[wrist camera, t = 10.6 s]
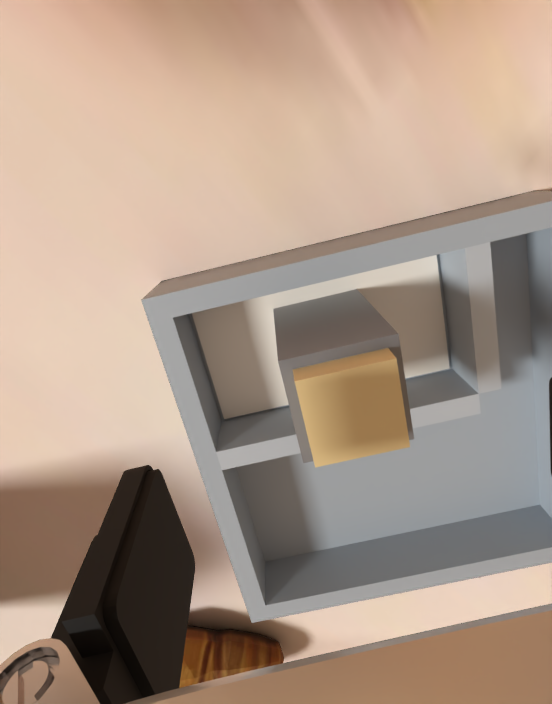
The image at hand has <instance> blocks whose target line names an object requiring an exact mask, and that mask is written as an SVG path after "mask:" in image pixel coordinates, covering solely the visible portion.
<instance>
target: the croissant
mask: <svg viewBox="0 0 552 704" xmlns="http://www.w3.org/2000/svg"><path fill="white" fill-rule="evenodd" d="M283 661H284V656H283V653H282V650H281V647H280V644H279V642H278V641H276V640H273V639H270V638H267V637H265V636H262V635H259V634H254V633H248V632H243V631H237V630H231V629H230V630H220V631H217V630H211V629H206V628H200V627H192V626H187V633H186V640H185V648H184V656H183V663H182V671H181V678H180V686H179V688H182V687H186V686H190V685H194V684H198V683H202V682H206V681H210V680H215V679H219V678H223V677H227V676H231V675H235V674H239V673H243V672H247V671H251V670H256V669H260V668H265V667H269V666H273V665H278V664H282V663H283Z"/></svg>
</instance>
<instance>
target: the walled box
mask: <svg viewBox="0 0 552 704" xmlns="http://www.w3.org/2000/svg"><path fill="white" fill-rule="evenodd" d="M355 289H357V290H358V291H359V292H360V293H361V294H362V295H363V296H364V297H365V298H366V300H367V301H368V302H369V303H370V304H371V305H372V306H373V307H374V308H375V309H376V310H377V311H378V312H379V313H380V314H381V316H382V317H383V318H384V319H385V320H386V321H387V322H388V323H389V324H390V325H391V326H392V327H393V328H394V329H395V330H396V332H397V333H398V334H399V340H400V347H401V354H402V360H403V367H404V374H405V380H406V387H407V394H408V400H409V407H410V413H411V420H412V427H413V433H414V439H413V440H409V442H410V447H408V448H403V449H399V450H394V451H390V452H385V453H380V454H376V455H371V456H366V457H362V458H357V459H353V460H348V461H343V462H339V463H334V464H329V465H325V466H320V467H316V468H315V465H314V461H312V462H307V463H303V460H302V456H301V452H300V448H299V444H298V440H297V436H296V432H295V428H294V424H293V420H292V416H291V412H290V408H289V404H288V400H287V396H286V392H285V387H284V383H283V379H282V375H281V371H280V367H279V363H278V356H277V345H276V334H275V323H274V313H273V309H274V308H278V307H283V306H287V305H291V304H295V303H300V302H304V301H308V300H312V299H317V298H321V297H325V296H329V295H334V294H338V293H342V292H346V291H351V290H355ZM141 301H142V304H143V306H144V309H145V312H146V315H147V318H148V321H149V324H150V327H151V330H152V333H153V336H154V339H155V342H156V344H157V347H158V350H159V353H160V356H161V359H162V362H163V365H164V368H165V371H166V374H167V377H168V380H169V383H170V385H171V388H172V391H173V394H174V397H175V400H176V403H177V406H178V409H179V412H180V415H181V418H182V421H183V423H184V426H185V429H186V432H187V435H188V438H189V441H190V444H191V447H192V450H193V453H194V456H195V459H196V462H197V464H198V467H199V470H200V473H201V476H202V479H203V482H204V485H205V488H206V491H207V494H208V497H209V500H210V502H211V505H212V508H213V511H214V514H215V517H216V520H217V523H218V526H219V529H220V532H221V535H222V538H223V541H224V543H225V546H226V549H227V552H228V555H229V558H230V561H231V564H232V567H233V570H234V573H235V576H236V579H237V581H238V584H239V587H240V590H241V593H242V596H243V599H244V602H245V605H246V608H247V611H248V614H249V617H250V620H251V622H252V623H254V622H259V621H264V620H269V619H274V618H279V617H284V616H289V615H294V614H299V613H304V612H309V611H314V610H319V609H324V608H329V607H334V606H339V605H343V604H348V603H353V602H358V601H363V600H368V599H373V598H378V597H383V596H388V595H393V594H398V593H403V592H408V591H413V590H418V589H423V588H428V587H433V586H438V585H443V584H448V583H453V582H458V581H462V580H467V579H472V578H477V577H482V576H487V575H492V574H497V573H502V572H507V571H512V570H517V569H522V568H527V567H532V566H537V565H542V564H547V563H552V475H551V466H550V410H549V381H550V378H551V377H552V191H531V192H527V193H523V194H519V195H515V196H510V197H506V198H502V199H498V200H494V201H490V202H486V203H482V204H477V205H473V206H469V207H465V208H461V209H457V210H453V211H449V212H444V213H440V214H436V215H432V216H428V217H424V218H420V219H416V220H411V221H407V222H403V223H399V224H395V225H391V226H387V227H383V228H378V229H374V230H370V231H366V232H362V233H358V234H354V235H350V236H346V237H341V238H337V239H333V240H329V241H325V242H321V243H317V244H313V245H308V246H304V247H300V248H296V249H292V250H288V251H284V252H280V253H275V254H271V255H267V256H263V257H259V258H255V259H251V260H247V261H242V262H238V263H234V264H230V265H226V266H222V267H218V268H214V269H209V270H205V271H201V272H197V273H193V274H189V275H185V276H181V277H176V278H172V279H168V280H164V281H161V282H160V283H159V284H158V285H157V286H156V287H155V288H154V289H153V290H151V291H150V292H149V293H148V294H147V295H146V296H145V297H144V298H143V299H142V300H141Z"/></svg>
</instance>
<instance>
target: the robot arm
mask: <svg viewBox="0 0 552 704" xmlns="http://www.w3.org/2000/svg"><path fill="white" fill-rule="evenodd" d="M549 410H550V466H551V475H552V377H551V378H550V381H549ZM194 573H195V561H194V555H193V552H192V550H191V547H190V544H189V542H188V539H187V537H186V534H185V532H184V529H183V527H182V524H181V521H180V519H179V516H178V514H177V511H176V509H175V506H174V503H173V501H172V498H171V496H170V493H169V491H168V488H167V486H166V483H165V480H164V478H163V475H162V473H161V471H160V470H159V469H156V470H153V469H152V467H151V466H149V465H147V466H143V467H138V468H134V469H130V470H126V471H125V472H124V473H123V475H122V478H121V480H120V482H119V485H118V487H117V490H116V492H115V494H114V497H113V499H112V502H111V504H110V506H109V509H108V511H107V514H106V516H105V518H104V521H103V523H102V526H101V528H100V530H99V533H98V535H97V536H95V537H94V539H93V541H92V542H91V545H90V547H89V550H88V552H87V554H86V557H85V559H84V561H83V564H82V566H81V568H80V571H79V573H78V575H77V578H76V580H75V583H74V585H73V587H72V590H71V592H70V594H69V597H68V599H67V601H66V604H65V606H64V608H63V611H62V613H61V616H60V618H59V620H58V623H57V625H56V627H55V630H54V632H53V634H52V637H51V638H49V639H42V640H38V641H36V642H33V643H31V644H28V645H26V646H25V647H23V648H21V649H20V650H18V651H17V652H15V653H14V654H12V655H11V656H10V657H9V658H8V659H7V660H6V661H4V662H3V663H2V664H1V665H0V704H552V604H548V605H543V606H538V607H534V608H529V609H525V610H520V611H516V612H511V613H506V614H502V615H497V616H493V617H488V618H484V619H479V620H475V621H470V622H465V623H461V624H456V625H452V626H447V627H443V628H438V629H434V630H429V631H425V632H420V633H416V634H411V635H407V636H402V637H397V638H393V639H388V640H384V641H379V642H375V643H371V644H366V645H362V646H357V647H353V648H348V649H344V650H340V651H335V652H331V653H326V654H322V655H318V656H313V657H309V658H304V659H300V660H295V661H291V662H287V663H282V664H278V665H273V666H269V667H265V668H260V669H256V670H251V671H247V672H243V673H239V674H235V675H231V676H227V677H223V678H219V679H215V680H210V681H206V682H202V683H198V684H194V685H190V686H186V687H182V688H179V686H180V678H181V671H182V663H183V656H184V648H185V640H186V633H187V625H188V618H189V610H190V603H191V595H192V588H193V580H194Z"/></svg>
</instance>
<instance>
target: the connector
mask: <svg viewBox="0 0 552 704" xmlns="http://www.w3.org/2000/svg"><path fill="white" fill-rule="evenodd" d="M273 313H274V323H275V334H276V345H277V356H278V363H279V367H280V371H281V375H282V379H283V383H284V387H285V392H286V396H287V400H288V404H289V408H290V412H291V416H292V420H293V424H294V428H295V432H296V436H297V440H298V444H299V448H300V452H301V456H302V460H303V463H307V462H312V461H314V465H315V468H316V467H320V466H325V465H329V464H334V463H339V462H343V461H348V460H353V459H357V458H362V457H366V456H371V455H376V454H380V453H385V452H390V451H394V450H399V449H403V448H408V447H410V442H409V440H413V439H414V433H413V427H412V420H411V413H410V407H409V400H408V394H407V387H406V380H405V374H404V367H403V360H402V354H401V347H400V340H399V334H398V333H397V332H396V330H395V329H394V328H393V327H392V326H391V325H390V324H389V323H388V322H387V321H386V320H385V319H384V318H383V317H382V316H381V314H380V313H379V312H378V311H377V310H376V309H375V308H374V307H373V306H372V305H371V304H370V303H369V302H368V301H367V300H366V298H365V297H364V296H363V295H362V294H361V293H360V292H359V291H358V290H357V289H355V290H351V291H346V292H342V293H338V294H334V295H329V296H325V297H321V298H317V299H312V300H308V301H304V302H300V303H295V304H291V305H287V306H283V307H278V308H274V309H273Z"/></svg>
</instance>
